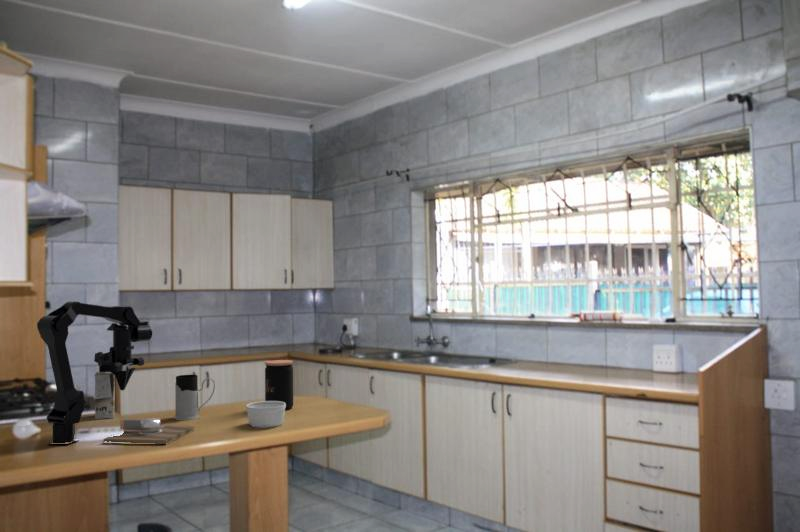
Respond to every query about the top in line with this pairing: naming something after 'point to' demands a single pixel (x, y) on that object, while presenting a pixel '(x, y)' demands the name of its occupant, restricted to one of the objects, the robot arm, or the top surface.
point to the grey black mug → (187, 397)
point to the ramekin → (266, 413)
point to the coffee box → (104, 395)
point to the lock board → (152, 435)
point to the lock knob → (142, 424)
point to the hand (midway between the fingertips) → (122, 390)
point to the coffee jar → (279, 382)
